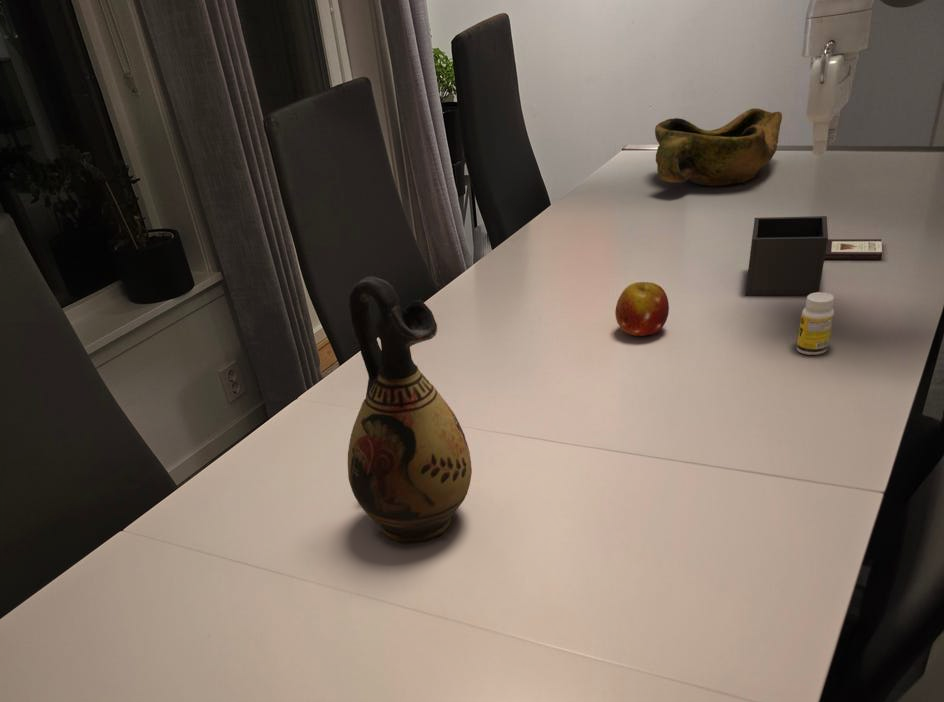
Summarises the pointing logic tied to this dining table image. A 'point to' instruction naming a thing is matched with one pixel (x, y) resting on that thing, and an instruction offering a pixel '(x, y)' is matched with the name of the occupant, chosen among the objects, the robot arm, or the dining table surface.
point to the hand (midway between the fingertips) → (823, 148)
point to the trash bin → (787, 255)
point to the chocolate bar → (854, 249)
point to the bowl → (717, 149)
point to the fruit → (642, 309)
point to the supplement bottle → (816, 324)
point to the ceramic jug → (403, 424)
